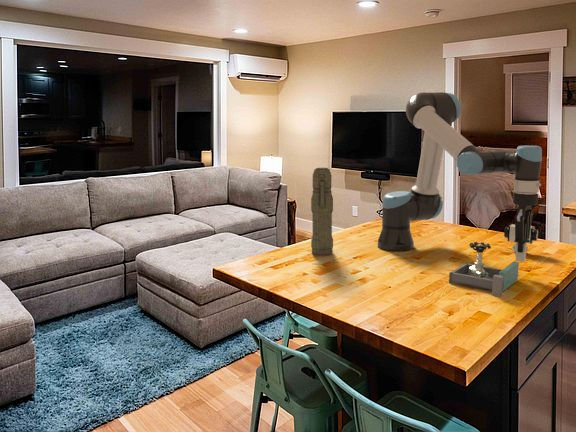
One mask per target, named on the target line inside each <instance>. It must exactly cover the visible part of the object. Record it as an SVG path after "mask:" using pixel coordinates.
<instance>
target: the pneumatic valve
mask: <svg viewBox="0 0 576 432" xmlns="http://www.w3.org/2000/svg"><path fill="white" fill-rule="evenodd" d="M503 236H504V238H505V239H506V240H507V242H513V243H514V244H513V245H512V251H513V253H515V254H516V250H517V242H514V241H515V223H514V224H513V223H511V224H509V225H508V226H506V227H504V234H503ZM538 237H539V230H538V229H536V227H535V226H534V225H533V226H532V225H531V229H530V236H529V239H528V240H530V242H526V243H527V244H529V245H532V244H533V242H535V241H536V242H537V241H538ZM528 249H529V248H528V246H527V247H526V253H528Z"/></svg>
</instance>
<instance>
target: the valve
mask: <svg viewBox="0 0 576 432" xmlns="http://www.w3.org/2000/svg"><path fill="white" fill-rule="evenodd" d="M491 247H492V246H491V244H490V243H485V242H483V241H482V242H478V241H474V242H470V243H469V248H470V249H472V250H474V251H476V253H477V254H475V255H476V257H475V259H476V261H474V262H473V266H471V267H470V268H469V274H471V275H472V276H475V277H480V278H485V279H488V273H487V272H485V271H484V269H483V268H482V267H483V266H485V265H484V262H483V254H482V253H483V252H484V251H485V250H487V249H489V250H490V249H491Z"/></svg>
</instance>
